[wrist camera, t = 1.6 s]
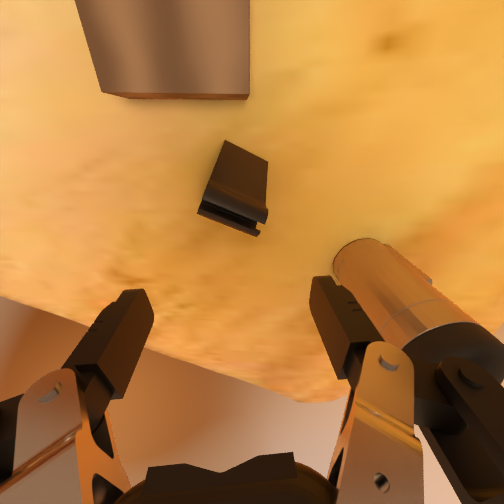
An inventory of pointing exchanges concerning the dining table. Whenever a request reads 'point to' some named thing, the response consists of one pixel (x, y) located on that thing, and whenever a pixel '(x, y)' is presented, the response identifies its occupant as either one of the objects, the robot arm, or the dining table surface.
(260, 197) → the phone stand
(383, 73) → the dining table surface
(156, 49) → the walnut block
